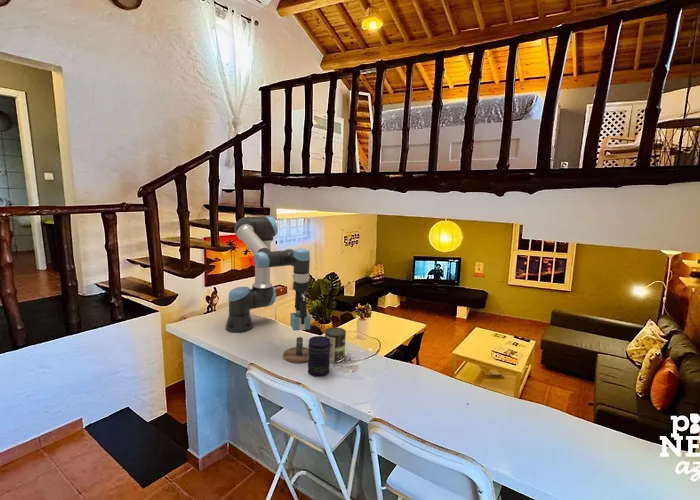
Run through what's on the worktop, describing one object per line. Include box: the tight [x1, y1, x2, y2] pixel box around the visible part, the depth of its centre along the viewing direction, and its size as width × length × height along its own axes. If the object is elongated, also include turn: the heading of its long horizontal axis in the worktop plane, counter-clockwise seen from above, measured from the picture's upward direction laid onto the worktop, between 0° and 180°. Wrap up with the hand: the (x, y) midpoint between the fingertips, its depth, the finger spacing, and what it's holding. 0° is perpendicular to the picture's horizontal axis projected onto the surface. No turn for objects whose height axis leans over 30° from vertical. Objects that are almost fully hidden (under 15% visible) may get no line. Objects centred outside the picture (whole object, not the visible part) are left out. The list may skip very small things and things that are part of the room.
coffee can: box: [324, 327, 347, 364], centre depth 173 cm, size 10×10×14 cm
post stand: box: [282, 336, 309, 364], centre depth 175 cm, size 16×16×9 cm
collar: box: [289, 312, 311, 332], centre depth 172 cm, size 8×8×6 cm
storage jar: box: [307, 335, 330, 378], centre depth 160 cm, size 10×10×15 cm
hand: (300, 326), depth 173 cm, fingers closed on collar, 8 cm apart
